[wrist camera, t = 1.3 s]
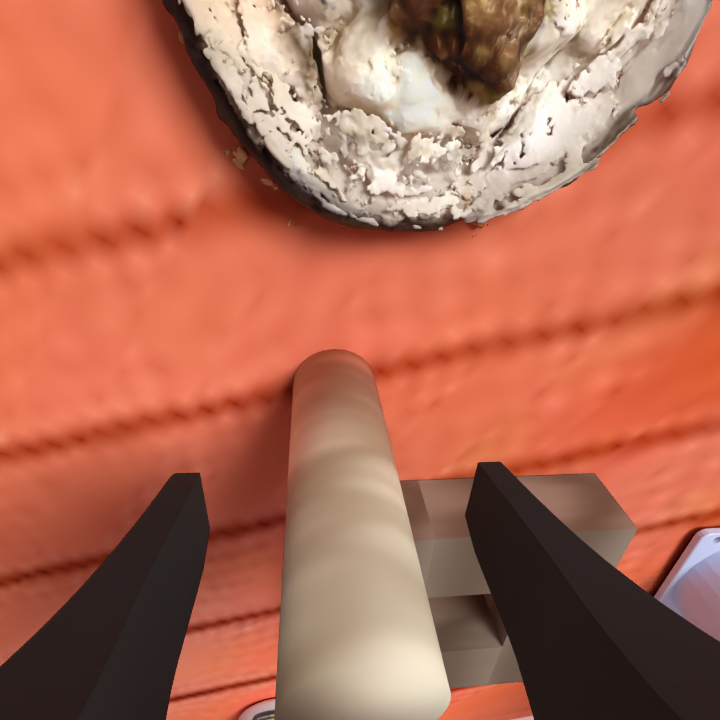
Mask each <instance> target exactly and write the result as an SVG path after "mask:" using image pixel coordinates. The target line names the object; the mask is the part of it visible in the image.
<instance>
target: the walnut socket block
mask: <svg viewBox="0 0 720 720" xmlns="http://www.w3.org/2000/svg"><path fill="white" fill-rule="evenodd" d="M516 478H517V479H518V480H519V481H520V482H521V483H522V484H523V485H524V486H525V487H526V488H527V489H528V490H529V491H530V492H531V493H532V494H533V495H534V496H535V497H536V498H537V499H538V500H539V501H540V502H542V503H543V504H544V505H545V506H546V507H547V508H548V509H549V510H550V511H551V512H552V513H553V514H554V515H555V516H556V517H557V518H558V519H559V520H560V521H562V522H563V523H564V524H565V525H566V526H567V527H568V528H569V529H570V530H571V531H573V532H574V533H575V534H576V535H577V536H578V537H579V538H580V539H581V540H583V541H584V542H585V543H586V544H587V545H588V546H590V547H591V548H592V549H593V550H594V551H595V552H597V553H598V554H599V555H600V556H601V557H603V558H604V559H605V560H606V561H607V562H609V563H610V564H611V565H612V566H614V567H615V568H616V567H617V565H618V563H619V561H620V559H621V558H622V556H623V554H624V552H625V550H626V549H627V547H628V545H629V543H630V541H631V540H632V538H633V536H634V534H635V532H636V531H637V529H638V528H637V527H636V526H635V524H634V523H633V522H632V521H631V519H630V518H629V517H628V515H627V514H626V513H625V512H624V510H623V509H622V508H621V506H620V505H619V504H618V503H617V501H616V500H615V499H614V497H613V496H612V495H611V494H610V492H609V491H608V490H607V488H606V487H605V486H604V485H603V483H602V482H601V481H600V479H599V478H598V477H597V476H596V474H569V475H543V476H517V477H516ZM473 481H474V478H465V479H439V480H413V481H400V485H401V489H402V493H403V497H404V501H405V506H406V510H407V514H408V518H409V522H410V526H411V530H412V535H413V539H414V543H415V547H416V551H417V555H418V559H419V564H420V568H421V572H422V576H423V580H424V584H425V588H426V593H427V597H428V601H429V605H430V609H431V613H432V617H433V622H434V626H435V630H436V634H437V638H438V642H439V646H440V651H441V655H442V659H443V663H444V667H445V671H446V675H447V680H448V684H449V688H460V687H471V686H481V685H492V684H502V683H513V682H523V679H522V676H521V673H520V670H519V666H518V663H517V660H516V657H515V654H514V651H513V648H512V646H511V643H510V640H509V637H508V635H507V632H506V630H505V627H504V625H503V622H502V620H501V617H500V615H499V612H498V610H497V607H496V605H495V602H494V600H493V597H492V595H491V592H490V590H489V587H488V585H487V582H486V580H485V577H484V575H483V572H482V570H481V567H480V565H479V562H478V560H477V557H476V554H475V551H474V548H473V544H472V541H471V537H470V533H469V529H468V525H467V521H466V517H465V513H466V509H467V505H468V501H469V497H470V493H471V489H472V485H473Z"/></svg>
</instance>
